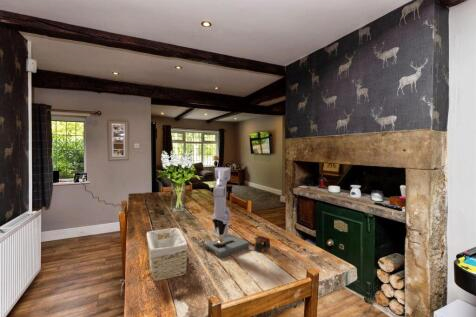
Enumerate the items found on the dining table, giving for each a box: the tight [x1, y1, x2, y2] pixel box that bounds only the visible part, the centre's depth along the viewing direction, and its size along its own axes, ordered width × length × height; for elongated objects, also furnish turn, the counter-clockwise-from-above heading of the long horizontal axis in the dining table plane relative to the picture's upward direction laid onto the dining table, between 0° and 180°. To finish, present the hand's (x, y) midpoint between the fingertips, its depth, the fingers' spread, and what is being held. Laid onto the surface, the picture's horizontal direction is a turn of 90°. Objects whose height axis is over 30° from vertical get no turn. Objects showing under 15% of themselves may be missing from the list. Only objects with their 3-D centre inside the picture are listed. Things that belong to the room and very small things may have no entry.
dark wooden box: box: [253, 235, 271, 253], centre depth 132 cm, size 12×10×8 cm
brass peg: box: [216, 227, 225, 245], centre depth 129 cm, size 4×4×9 cm
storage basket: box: [146, 227, 189, 282], centre depth 112 cm, size 24×16×15 cm
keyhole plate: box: [204, 234, 249, 260], centre depth 133 cm, size 20×14×4 cm
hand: (219, 233), depth 129 cm, fingers closed on brass peg, 3 cm apart
